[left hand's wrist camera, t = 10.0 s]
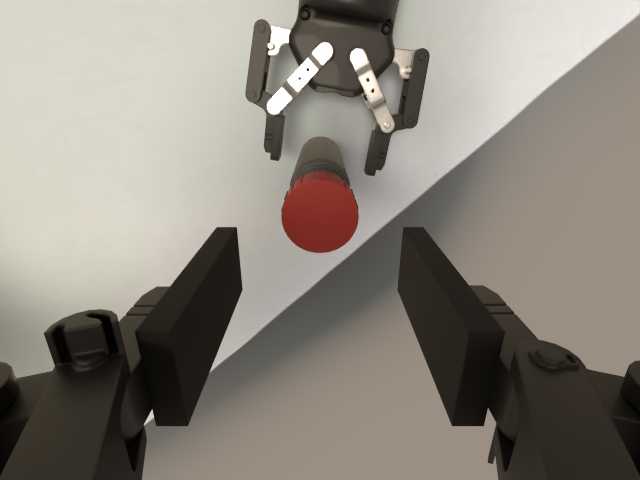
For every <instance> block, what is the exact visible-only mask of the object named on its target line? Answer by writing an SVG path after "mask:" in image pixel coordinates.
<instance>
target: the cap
mask: <svg viewBox="0 0 640 480" xmlns="http://www.w3.org/2000/svg"><path fill="white" fill-rule="evenodd" d="M354 198H355V197H354V194H353V191H352V189H350V187H349V186H348V184H347V183H346V181H345V180H343V179H341V178H340V177H339V176H337V175H336V174H332V173H329V172H325V171H316V172H314V171H312V172H311V173H308V174H305V175H301V177H300V178H299V179H297V180H296V181H295V182H293V183H292V186H291V187H290V189H289V191H287V193H286V196H285V199H284V200H285V201H284V204H283V207H282V210H281V212H282V224H283V227H284V230H285V232H286V234H287V236H288V237H289V238H290V240H291V241H292V242H293V243H294V244H296V245H297V246H298V247H300V248H302V249H304V250H307V251H310V252H315V253H325V252H330V251H333V250H336V249H338V248H340V247H342V246H343V245H344V244H346V243H347V242H348V241H349V240H350V238H351V237H352V236H353V234H354V232H355V230H356V227H357V224H358V205H357V202H356V200H355V199H354Z"/></svg>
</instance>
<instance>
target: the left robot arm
mask: <svg viewBox="0 0 640 480" xmlns="http://www.w3.org/2000/svg"><path fill="white" fill-rule="evenodd" d="M241 292H242V280H241V269H240V258H239V247H238V236H237V227H217V228H216V229H215V230H214V232H213V233H212V234H211V235H210V237H209V238H208V239H207V241H206V242H205V243H204V244H203V246H202V247H201V248H200V249H199V251H198V252H197V253H196V254H195V256H194V257H193V258H192V260H191V261H190V262H189V263H188V265H187V266H186V267H185V268H184V270H183V271H182V272H181V274H180V275H179V276H178V277H177V279H176V280H175V281H174V282H173V284H172V285H171V286H170V287H156V288H154V289H152V290H151V291H149V292H147V293H146V294H144V295H143V296H142V297H141V298H140V299H139V300H138V301H137V302H136V303H135V305H134V307H132V308H131V309H130V310H129V311H128V312H127V314H126V316H124V317H123V318H122V319H121V320H120V321H119V322H118V318H117V315H116V314H115V313H113V312H112V311H108V310H102V309H100V310H88V311H84V312H80V313H76V314H73V315H71V316H68V317H66V318H63V319H61V320H60V321H58V322H56V323H55V324H53V325H51V326H50V327H49V328H48V330H47V331H46V332H45V333H44V335H45V338H46V341H47V344H48V347H49V350H50V353H51V355H52V358H53V361H54V364H55V367H54V369H53V371H50V372H46V373H41V374H36V375H31V376H27V377H22V378H17V379H16V377H15V375H14V372H13V370H12V367H11V366H9V365H8V364H7V363H3V362H0V480H142V473H143V465H144V457H145V449H146V441H147V438H146V432H145V427H144V423H145V421H146V419H147V417H148V416H149V414H150V412H151V410H152V409H153V414H154V418H155V422H156V426H188V424H189V422H190V419H191V417H192V414H193V412H194V409H195V407H196V404H197V402H198V399H199V397H200V394H201V392H202V389H203V387H204V384H205V382H206V379H207V377H208V374H209V372H210V369H211V367H212V364H213V362H214V359H215V357H216V354H217V352H218V349H219V347H220V344H221V342H222V340H223V337H224V335H225V332H226V330H227V327H228V325H229V322H230V320H231V317H232V315H233V312H234V310H235V307H236V305H237V302H238V300H239V297H240V295H241ZM398 292H399V294H400V297H401V300H402V302H403V305H404V307H405V310H406V312H407V315H408V317H409V319H410V322H411V325H412V327H413V330H414V332H415V335H416V337H417V339H418V342H419V344H420V347H421V349H422V352H423V354H424V357H425V359H426V362H427V364H428V367H429V369H430V372H431V374H432V377H433V379H434V382H435V384H436V387H437V389H438V392H439V394H440V397H441V399H442V402H443V404H444V407H445V409H446V412H447V414H448V417H449V419H450V422H451V424H452V426H484V422H485V418H486V414H487V409H488V408H489V410H490V412H491V413H492V415H493V417H494V419H495V421H496V427H495V431H494V436H493V440H492V444H491V448H490V452H489V457H488V463H491V464H493V461H494V457H495V456H496V464H497V472H498V480H640V361H635V362H633V363H632V364H630V365H629V367H628V370H627V372H626V375H625V377H621V376H617V375H612V374H607V373H602V372H597V371H592V370H588V369H586V367H585V365H584V364H583V363H582V361H581V360H580V359H579V358H578V357H577V356H576V355H574V354H573V353H571V352H570V351H569V350H567V349H565V348H563V347H561V346H558V345H556V344H553V343H550V342H546V341H542V340H538V339H537V338H536V336H535V335H534V334H533V333H532V332H531V331H530V330H529V329H528V327H527V326H526V325H525V324H524V323H523V322H522V321H521V320H520V319H519V317H518V316H517V315H514V312H513V311H512V310H511V309H510V307H509V306H507V305H506V303H505V302H504V301H503V300H502V299H501V297H500V296H499V295H498V294H497V293H495V292H493V291H491V290H490V289H488V288H486V287H485V286H469V285H468V284H467V282H466V281H465V280H464V279H463V277H462V276H461V275H460V274H459V272H458V271H457V270H456V268H455V267H454V266H453V265H452V263H451V262H450V261H449V260H448V258H447V257H446V256H445V254H444V253H443V252H442V251H441V249H440V248H439V247H438V246H437V244H436V243H435V242H434V241H433V239H432V238H431V237H430V235H429V234H428V233H427V232H426V230H425V229H424V228H423V227H404V228H403V236H402V247H401V258H400V269H399V280H398Z"/></svg>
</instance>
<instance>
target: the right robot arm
mask: <svg viewBox="0 0 640 480" xmlns="http://www.w3.org/2000/svg"><path fill="white" fill-rule="evenodd" d="M398 2H399V0H299V9H298V16H297V20H296V23H295V25H294V26H293V28H292V29H291V30H288V29H284V28H280V27H275V26H271V25H269V24H268V22H267V21H265V20H263V19H261V20H258V21H257V22H256V23H255V25H254V32H253V40H252V47H251V55H250V63H249V70H248V78H247V86H246V98H247V100H248V101H250V102H253V103H254V104H256V105H258V106H260V107H261V108H263V109H264V110H265V112H266V116H267V118H266V129H265V140H264V148H265V151H266V152H269V153H271V160H276V161H279V159H280V157H281V149H282V140H283V131H284V122H285V116H283V110H284V109H285V108H286V107H287V106H288V105H289V104H290V103H291V102H292V100H293V99H294V98H295V97H296V96H297V95H298V94H299V93H300V92H301V91H302V90H303V89H304V88H305V87H306V86H307V85H309V86H310V87H311V88H312V89H314V90H315V91H317V92H323V93H328V92H336V93H338V94H340V95H342V96H347V97H356V96H359V95H362V97H363V99H364V102H365V104H366V106H367V107H368V109H369V111H370V113H371V115H372V118H373V120H374V122H375V124H376V127H375V131H373V130H372V134H371V139H370V144H369V149H368V154H367V159H366V164H365V170H364V171H365V174H366V175H370V176H374V175H375V172H376V170H381V169H382V168H383V166H384V164H385V160H386V155H387V150H388V146H389V141H390V137H391V135H392V134H393V132H395V131H397V130H401V129H406V128H413V127H415V126H416V124H417V122H418V116H419V111H420V105H421V100H422V94H423V89H424V84H425V78H426V73H427V67H428V62H429V52H428V51H427V50H426V49H424V48H421V49H418V50H415V51H413V50H404V49H394V45H393V39H392V33H393V27H394V22H395V17H396V12H397V7H398ZM286 44H289V46H290V49H291V51H292V53H293V55H294V57H295V59H296V61H297V63H298V65H299V68H298V69H297V70H296V71H295V72H294V73H293V74H292V76H291V77H290V78H289V79H288V80H287V81H286V82H285V83H284V85H283V86H282V87H281V88H280V89H279V91H278V92H277V93H276V94H275V95H274V96H273V95H271V94H269V93H267V92H266V91H265V90H266V83H267V76H268V70H269V63H270V56H272V57H274V56H277V55H278V54H279V52H280V49H281V47H282V46H283V45H286ZM391 63H394V64H395V65H396V66H397V73H398V76H399V77H400V78H402V79H404V81H403V87H402V93H401V99H400V105H399V111H398V114H394V115H391V113H390V111H389V109H388V107H387V104H386V101H385V98H384V95H383V93H382V91H381V88H380V86H379V84H378V82H377V78H378V77H379V76H380V75H381V74H382V73H383V72H384V71H385V70H386V69H387V68H388V67H389V66H390V64H391Z"/></svg>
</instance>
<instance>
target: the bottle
mask: <svg viewBox="0 0 640 480" xmlns="http://www.w3.org/2000/svg"><path fill="white" fill-rule="evenodd" d="M312 171H314V172H316V171H325V172H329V173H332V174H336V175H337V176H339V177H340V178H341V179H343V180H345V181H346V183H347V184H348V186H349V187H350V183H349V179H348V176H347V173H346V170H345V167H344V164H343V162H342V159H341V156H340V153H339V150H338V148H337V146H336V145H335V143H334V142H333V141H331V140H330V139H328V138H325V137H315V138H312V139H310V140H309V141H307V142H306V143H305V145H304V146H303V148H302V150H301V153H300V156H299V159H298V162H297V164H296V167H295V170H294V173H293V176H292V179H291V183H290V187H291V186H292V183H293V182H295V181H296V180H297V179H299V178H300V177H301V175H305V174H308V173H311V172H312Z"/></svg>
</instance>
